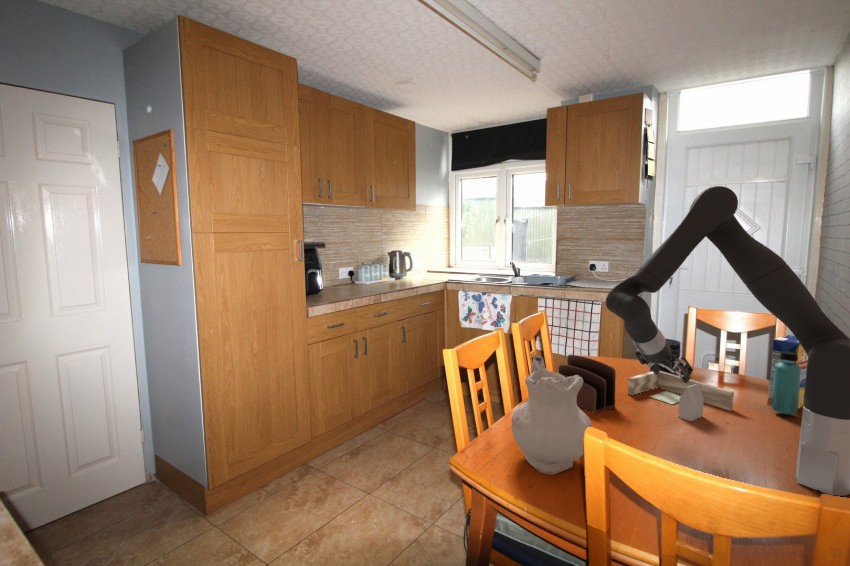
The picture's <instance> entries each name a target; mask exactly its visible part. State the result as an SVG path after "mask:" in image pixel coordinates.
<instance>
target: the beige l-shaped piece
mask: <svg viewBox="0 0 850 566" xmlns="http://www.w3.org/2000/svg"><path fill="white" fill-rule="evenodd" d="M694 384H699V387H700V390H701V393H702V395H703V398H704V401H703V404H708V405H710V406H713V407H717V408H719V409H723V410H726V411H729V412H730V411H733V407H734V394H735V392H734V391H732V390H731V389H730V390H728V389H726V388H722V387H719V386H715V385H711V384H708V383H704V382H701V381H697V380H694V379H691V378H690V380H689V381H688V382H687V383H684V382H683V381H682V379H681V377H680V375H679V376H677V375H673V374H670V373H666V372H663V371H659V373H658V375H657V374H654V372H653V371H652V372H650V371H649V372H645V373H640V374H638V375H634V376H630V377H628V383H627V395H628V394H630V395H629V396H631V395H633V396H635V395H634V394H636V395H638V394H637V393H640V394H642V393H641V392H643V393H645V392H644V391H646V392H648V391H647V390H649V391H651V390H650V389H652V390H654V389H653V388H656V387H660V388H663V389H665V390H664V391H662V392H658V393H656V394H655V393H654V394H653V395H649V396H648V398H650V397H652V398H651V399H653V398H654V400H656V399H657V400H656V401H659V400H660V402H662V401H663V402H662V403H664V402H666V403H665V404H667V403H669V404H668V405H670V404H671V405H670V406H673V404H674V405H676V403H677V404H679V403H678V402H679V399H680V397H681V396H682V394H683V393H684V391H685V388H686V387H689V386H691V385H694ZM660 388H659V389H660ZM656 389H657V388H656ZM663 389H662V390H663ZM666 390H668V391H666ZM669 391H671V392H669ZM673 392H674V393H673ZM676 393H677V394H676ZM679 394H680V395H679Z"/></svg>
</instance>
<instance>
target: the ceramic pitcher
mask: <svg viewBox="0 0 850 566" xmlns="http://www.w3.org/2000/svg"><path fill="white" fill-rule="evenodd" d="M532 358H533V359H532V362H531V366H530V367H531V368H530V373H529V375H528V376H527V377H526V378H525V379H524V384H525V385H526V388H527V391H528V398H527V401H526V402H523V403H522V404H520V405H519V406H518V407H516V408H515V409H514V411H513V413H512V415H511V416H512V417H511V431H512V432H511V433H512V436H513V439H514V440H515V441H514V442H515V443H516V444H517V446H518V448H519V449H520V450H521V452H523V453H524V454H525V455H524V456H523V457H524V458H525V460H526V461H527V463H528V464H530V466H532V467H533V468H534V469H535V470H536V471H537V472H539V473H542V474H545V475H547V476H549V475H550V476H551V475H557V474H558V473H561V472H564V471H567V470H569V469H571V468H573V467H574V463H575V462H574V461H576V460H578V459H579V458H580V457H582V456H583V455H584V454H585V453H583V437H584V431H585V429H586V428H587V427H593V424H592V422H591V420H590V419H591V418H590V417H589V416H588V415H587V414H586V413H585V412H584V411H583V410H582V409H581V407H578V406H577V404H576V401H577V394H578V392H579V390H580V388H581V387H582V385H583V379H582V378H581V377H579V375H574V376H570V377H567V378H565V377H564V376H563V375H561V374H559V373H558V372H555V371H550V370H549V369H547V368H546V366H545V360H544V357H543V356H541V355H538V354H536V353H534V355H533V356H532Z"/></svg>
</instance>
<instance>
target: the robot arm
mask: <svg viewBox="0 0 850 566" xmlns="http://www.w3.org/2000/svg"><path fill="white" fill-rule="evenodd" d="M738 207H739V199H738V196H737V194H736V192H734V191H733V190H732V189H730V188H729V187H727V186H722V185H715V186H711V187H708V188H706V189H704V190H701V192H699V193H698V195H696V197H694V200H693V201H692V204H690V208H689V209H688V213H687V214H686V216H685V217H684V218H683V219H682V221H681V222H680V223H679V224H678V226H677V227H676V228H675V229H674V231H673V232H672V233H671V234H670V235H669V236H668V237H667V238H666V240H664V241H663V242H662V243H661V244H660V245H659V247H658V248H656V249H655V250H654V251H653V252H652V254H651V255H650V256H649V257H648V258H647V259H646V260H645V261H644V263H643V264H642V265H640V267H639V268H638V269H637V270H636V271H635V272H634V273H633V274H631V275H630V276H628V277H627V278H625V279H624V280H623V281H621V282H619V283H617V285H615V286H614V287H613V288H612V289H611V290H610V291H609V292H608V294H607V295H606V298H605V306H606V309H608V311H609V312H611V313H612V314H613V315H615V316H617V317H619V318H621V320H623V321H624V322H623V326H624V329H625V331H626V334H628V335H629V338H630V339H631V340H632V343H633V344H634V347H636V350H635V353H634V354H635V356H636V358H637V360H638V362H639V363H640V364H641V365H643V366H644V365H646V367H648V368H649V369H650V368H651V370H652V371H653V372H654V374H657V375H658V373H659V371H660V367H659V366H662V367H665V368H667V369H668V370H670V371H671V372H675V373H677V374H678V375H679V376H680V377H681V379H682V381H683V382H684V383H687V382H688V381H689V380H690V379H691V375H692V374H693V371H694V369H693V367H692V365H691V364H690V363H689V361H688V360H687V358H685V357H684V356H680V358H679V359H676V358H675V357H674V356H673V355H672V354H671V348H670V346H669V344H668V342H667V341H666V339H667V338H666V337H665V336H664V334H663V333H662V332H661V330H660V329H659V327H658V326H657V325H656V324H655V322H654V321H653V319H652V313H651V309H650V306H649V304H648V303H647V301H646V300H644V298H643V297H641V296H639V295H640V294H642V293H645V292H646V293H651V294H654V293H657V292H659V291H660V290H661V289H662V288H663V286H665V284H666V283H667V282H668V281H669V280H670V278H672V277H673V276H674V274H675V273H676V272H677V270H678V269H680V267H682V265H683V263H684V262H685V261H686V260H687V258H688V257H689V256H690V254H691V253H692V252H693V251H694V250H695V249H696V248H697V246H698V245H699V244H700V243H701V242H702V241H703V240H704V239H705V238H707V239H708V240H709V241H710V242H711V243H712V244H713V245H714V246H715V247H716V248H717V249H718V251H719V252H720V253H721V254H722V255H723V258H724V259H725V260H726V262H727V263H728V264H729V265H730V267H731V268H732V270H733V271H734V272H735V274H736V275H737V276H738V277H739V279H740V280H741V281H742V283H743V285H745V287H746V288H747V289H748V291H750V293H751V294H752V296H753V297H754V298H755V299H756V300H757V301H758V302H759V304H761V305H762V306H763V307H764V308H765V309H766V310H768V312H769V313H770V314H772V315H773V316H774V317H776V319H778V320H779V321H780V322H781V323H782V324H784V326H786V327H787V328H788V329H789V331H790V333H792V335H793V336H795V337H796V338H797V340H798V341H799V343H800V344H801V346H802V347H803V349H804V350H805V352H806V354H807V355H808V361H807V371H806V381H805V390H804V403H803V407H802V414H801V415H802V416H801V424H800V434H799V443H798V451H797V452H798V453H797V462H796V470H795V471H796V472H795V478H796V480H797V484H800V485H803V486H805V487H807V488H810V489H813V490H814V491H817V490H819V491H821V492H820V493H822V494H824V493H825V495H827V494H830V495H834V496H839V497H840V496H848V495H850V337H849V336H847V335H846V334H845V332H843V331H842V330H841V329H840V328H839V327H838V326H837V325H836V324H835V323H834V322H833V321H832V320H831V319H830V318H829V317H828V316H827V315H826V314H825V313H824V311H823V310H822V308H821V307H820V305H819V304H818V302H817V301H816V300H815V298H814V297H813V295H812V293H811V292H810V291H809V289H808V287H807V286H806V285H805V284H804V283H803V282H802V280H801V279H800V277H799V276H798V274H797V273H795V271H794V270H793V268H791V266H789V264H787V262H786V261H785V260H784V259H783V258H782V257H781V256H780V255H779V254H777V253H776V252H775V251H773V250H772V249H770V248H769V247H768V246H766V245H765V244H763V243H762V242H760V241H758V240H757V239H756V238H754V237H753V236H751V235H750V234H749V233H748V231H746V230H745V228H744V227H743V225H742V224H741V223H740V221H739V220H738V219H737V217H736V216H735V214H736V212H737V210H738ZM674 363H675V365H674V367H673V368H671V366H672V365H673V364H674ZM678 368H679V371H678ZM819 491H818V492H819Z"/></svg>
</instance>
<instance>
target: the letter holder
mask: <svg viewBox="0 0 850 566" xmlns="http://www.w3.org/2000/svg"><path fill="white" fill-rule="evenodd" d="M566 359H567V360H566V361H567V362H566V363H567V364H559V365H558V372H557V373H559V374H561V375H563V376H564V377H565V378H567V377H570V376H574V375H579V377H581V378H582V379H583V385H582V387H581V388H580V390H579V392H578V394H577V401H576V404H577V406H579V408H581V407H582V408H581V409H583V408H584V410H585V409H586V410H585V411H587V412H590V411H591V412H590V413H592V412H593V413H592V414H594V413H595V414H598V413H602V412H605V411H609V410H611V409H614V408H616V373H617V372H616V369H615V368H614V367H613V366H610V365H608V364H606V363H604V362H602V361H599V360H596V359H593V358H589V357H585V356H580V355H578V354H568V355H567V358H566Z"/></svg>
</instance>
